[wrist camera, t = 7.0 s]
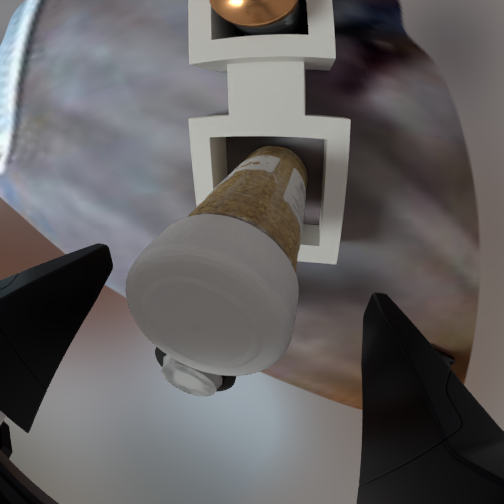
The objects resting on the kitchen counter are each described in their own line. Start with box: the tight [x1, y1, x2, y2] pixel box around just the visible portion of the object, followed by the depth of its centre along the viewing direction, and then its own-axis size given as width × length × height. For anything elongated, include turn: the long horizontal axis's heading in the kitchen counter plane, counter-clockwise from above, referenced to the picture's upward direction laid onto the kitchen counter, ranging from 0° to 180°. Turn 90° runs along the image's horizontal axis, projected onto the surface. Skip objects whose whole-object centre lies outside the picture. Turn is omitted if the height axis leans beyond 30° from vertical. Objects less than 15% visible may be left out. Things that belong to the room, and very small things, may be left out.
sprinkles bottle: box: [126, 146, 308, 376], centre depth 12 cm, size 5×5×14 cm
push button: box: [155, 347, 236, 396], centre depth 19 cm, size 7×5×10 cm
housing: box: [189, 0, 351, 264], centre depth 13 cm, size 19×9×4 cm, turn 2°
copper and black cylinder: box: [209, 0, 302, 36], centre depth 10 cm, size 4×4×6 cm
